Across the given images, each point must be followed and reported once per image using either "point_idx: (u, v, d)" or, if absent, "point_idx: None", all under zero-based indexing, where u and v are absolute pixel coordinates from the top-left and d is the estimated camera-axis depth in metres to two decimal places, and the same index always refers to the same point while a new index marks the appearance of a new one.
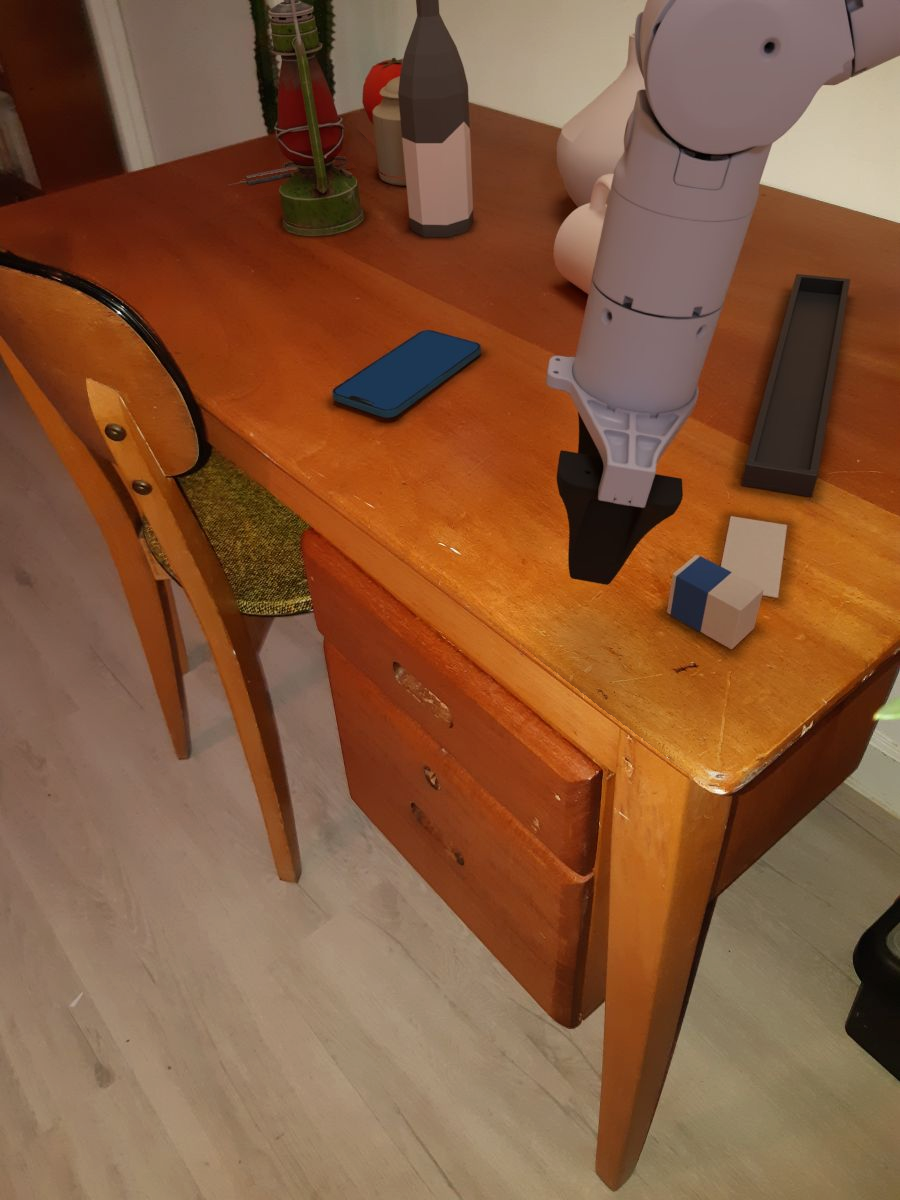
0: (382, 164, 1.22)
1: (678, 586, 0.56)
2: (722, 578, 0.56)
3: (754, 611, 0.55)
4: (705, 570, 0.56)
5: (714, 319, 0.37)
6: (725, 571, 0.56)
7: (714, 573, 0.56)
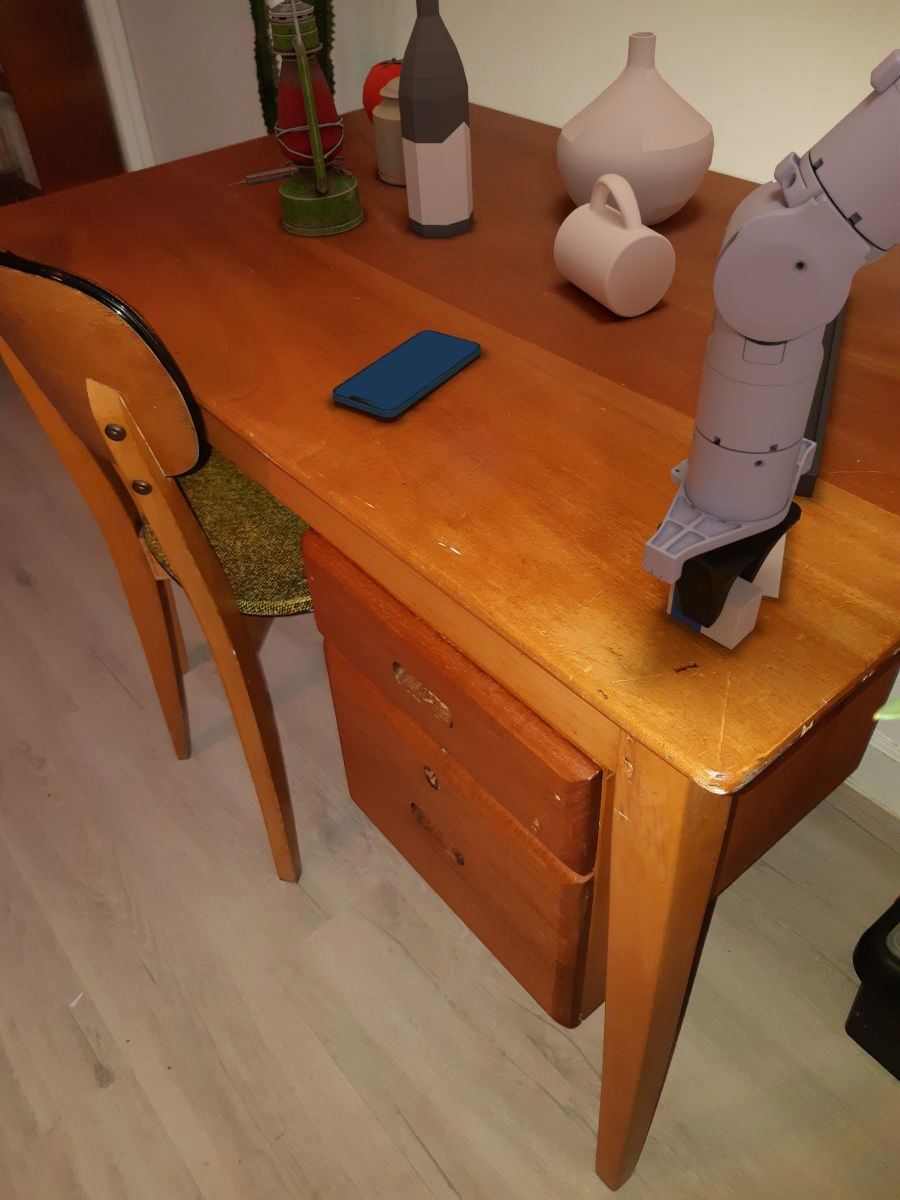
0: (382, 164, 1.22)
1: None
2: None
3: (754, 611, 0.55)
4: None
5: (774, 458, 0.46)
6: None
7: None
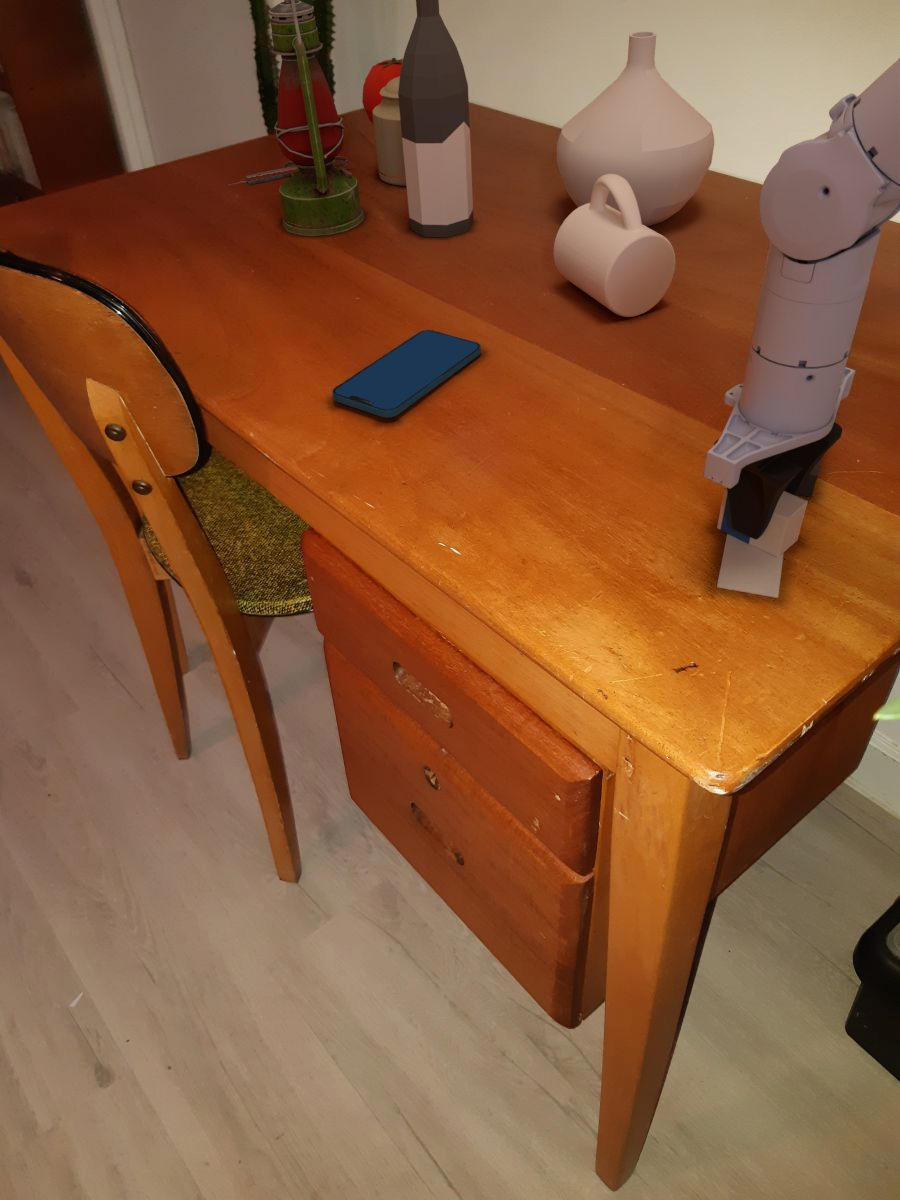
0: (382, 164, 1.22)
1: None
2: None
3: (798, 522, 0.61)
4: None
5: (823, 372, 0.52)
6: None
7: None
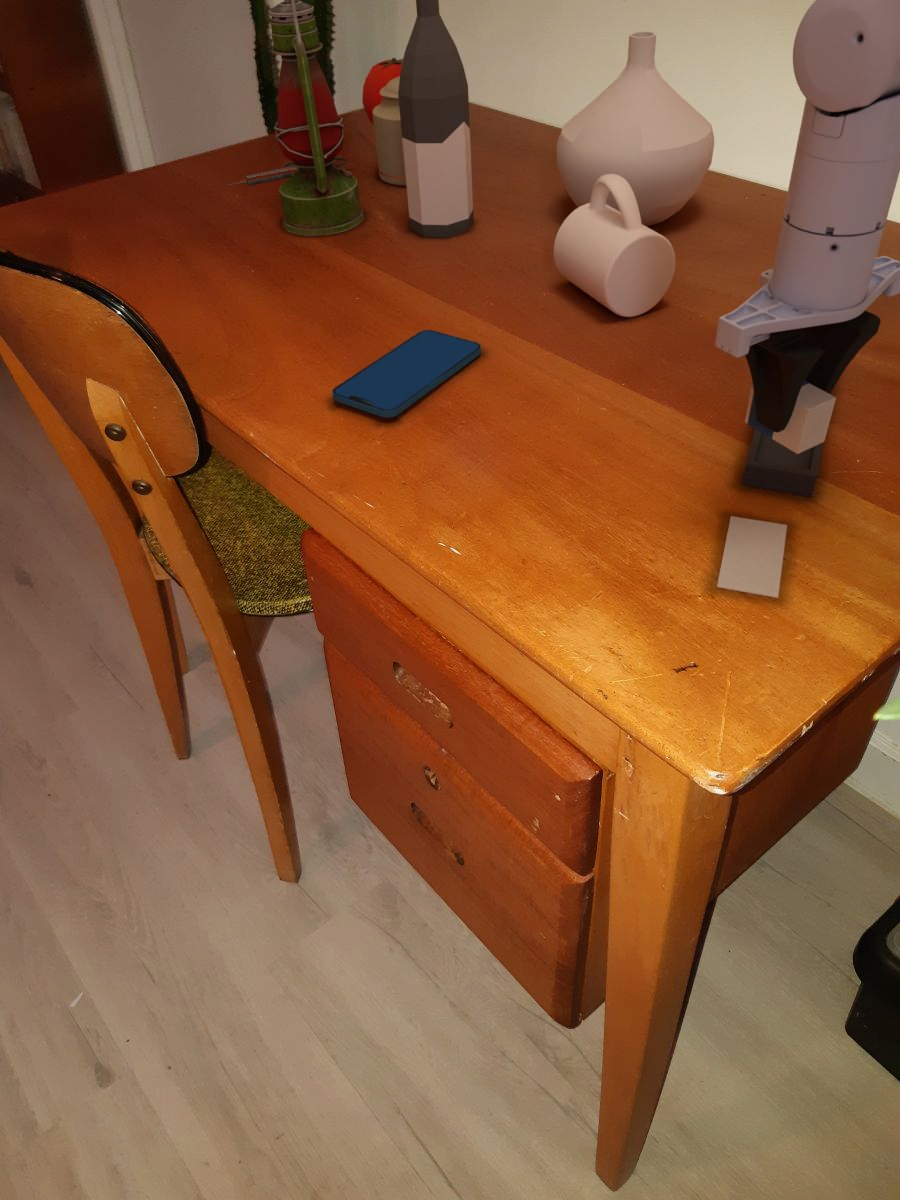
0: (382, 164, 1.22)
1: None
2: None
3: (824, 419, 0.59)
4: None
5: (849, 242, 0.50)
6: None
7: None
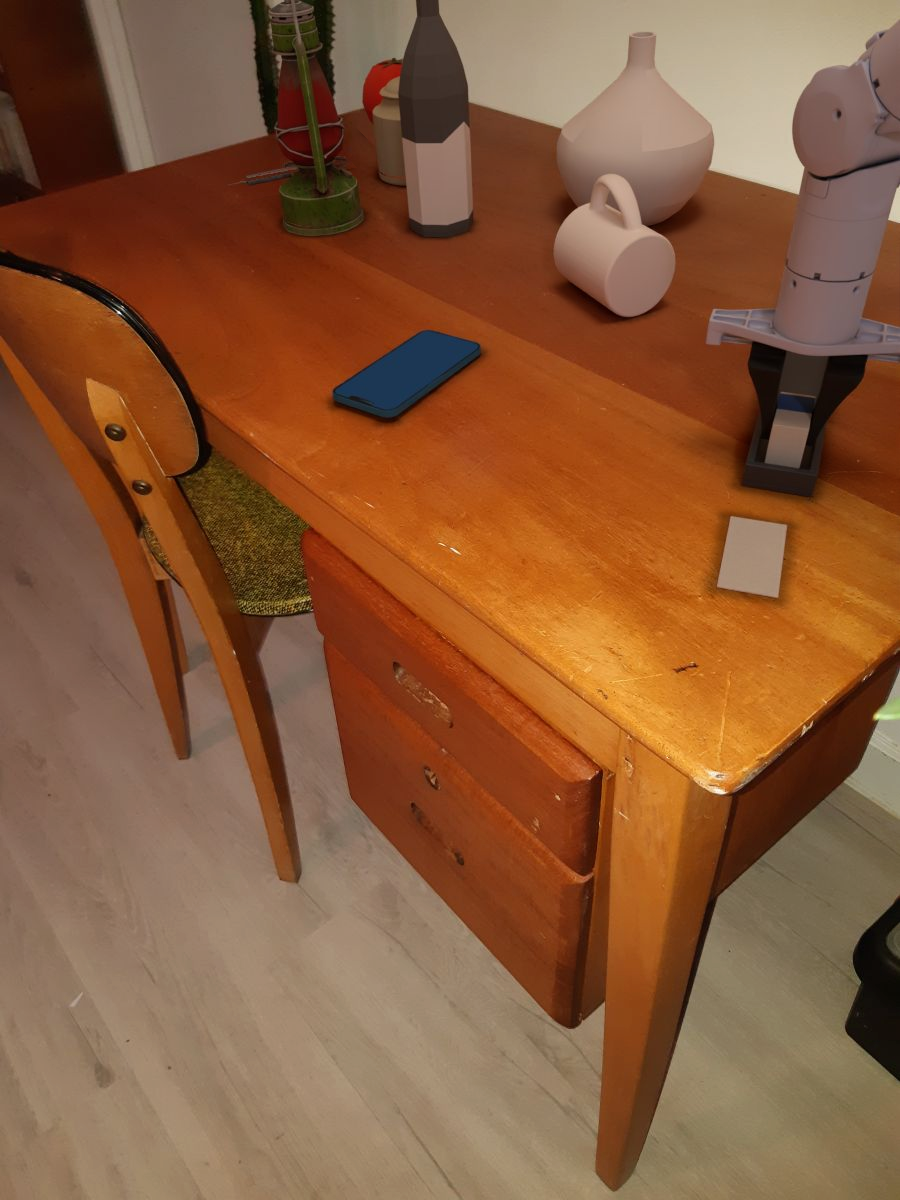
0: (382, 164, 1.22)
1: None
2: (799, 410, 0.67)
3: (796, 445, 0.66)
4: (800, 402, 0.68)
5: (802, 282, 0.59)
6: (809, 410, 0.67)
7: (801, 406, 0.68)
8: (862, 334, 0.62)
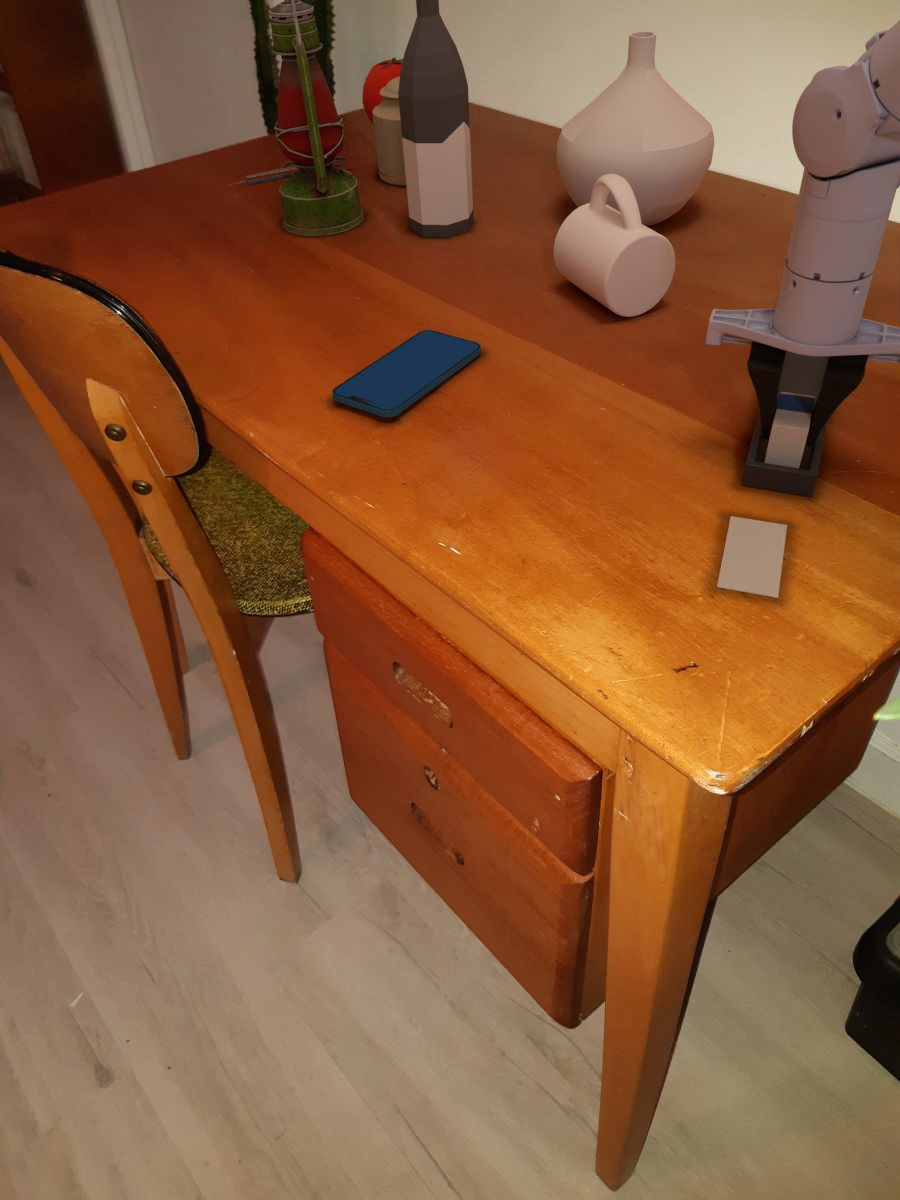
0: (382, 164, 1.22)
1: None
2: (799, 410, 0.67)
3: (796, 445, 0.67)
4: (800, 402, 0.68)
5: (802, 283, 0.59)
6: (809, 410, 0.67)
7: (801, 406, 0.68)
8: (862, 334, 0.62)
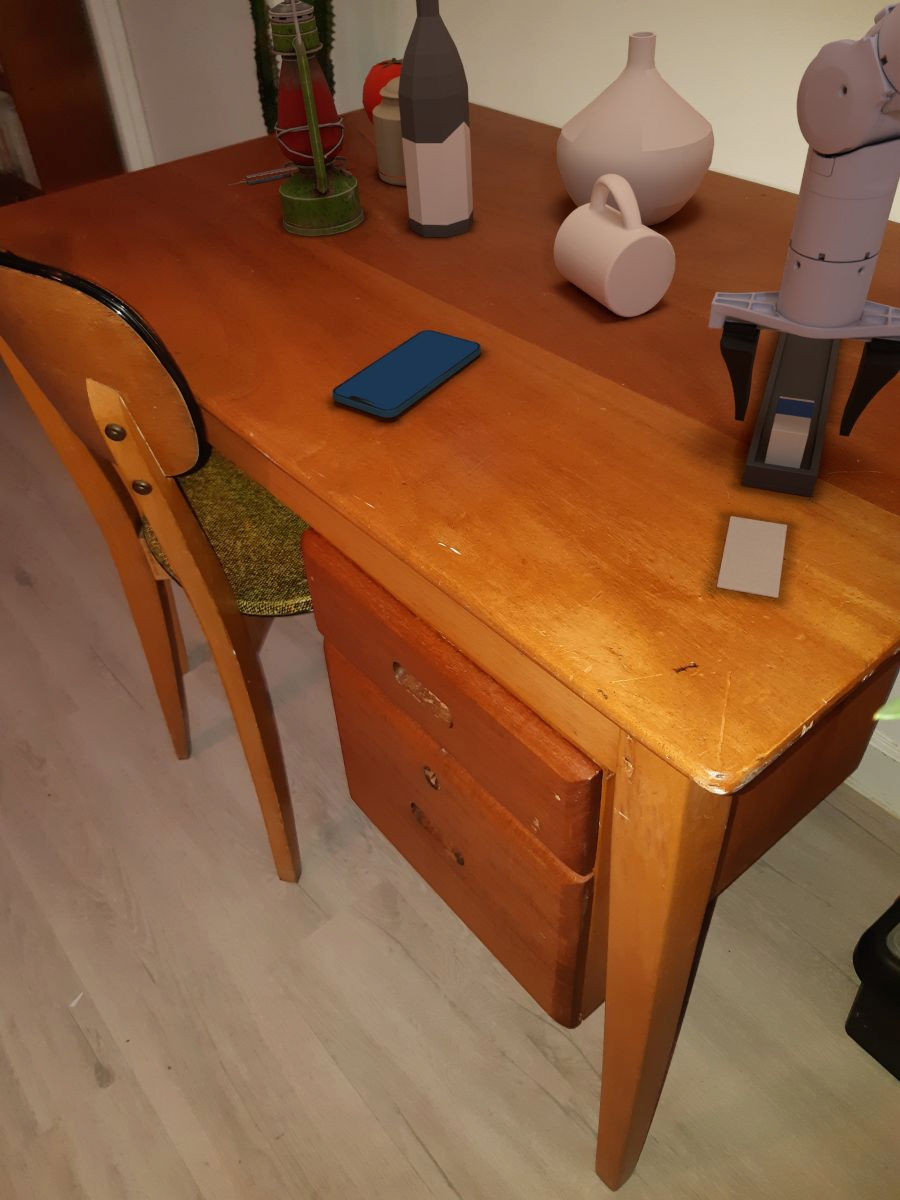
0: (382, 164, 1.22)
1: None
2: (799, 415, 0.67)
3: (795, 450, 0.67)
4: (799, 407, 0.68)
5: (806, 263, 0.58)
6: (808, 415, 0.67)
7: (800, 411, 0.68)
8: (867, 316, 0.61)
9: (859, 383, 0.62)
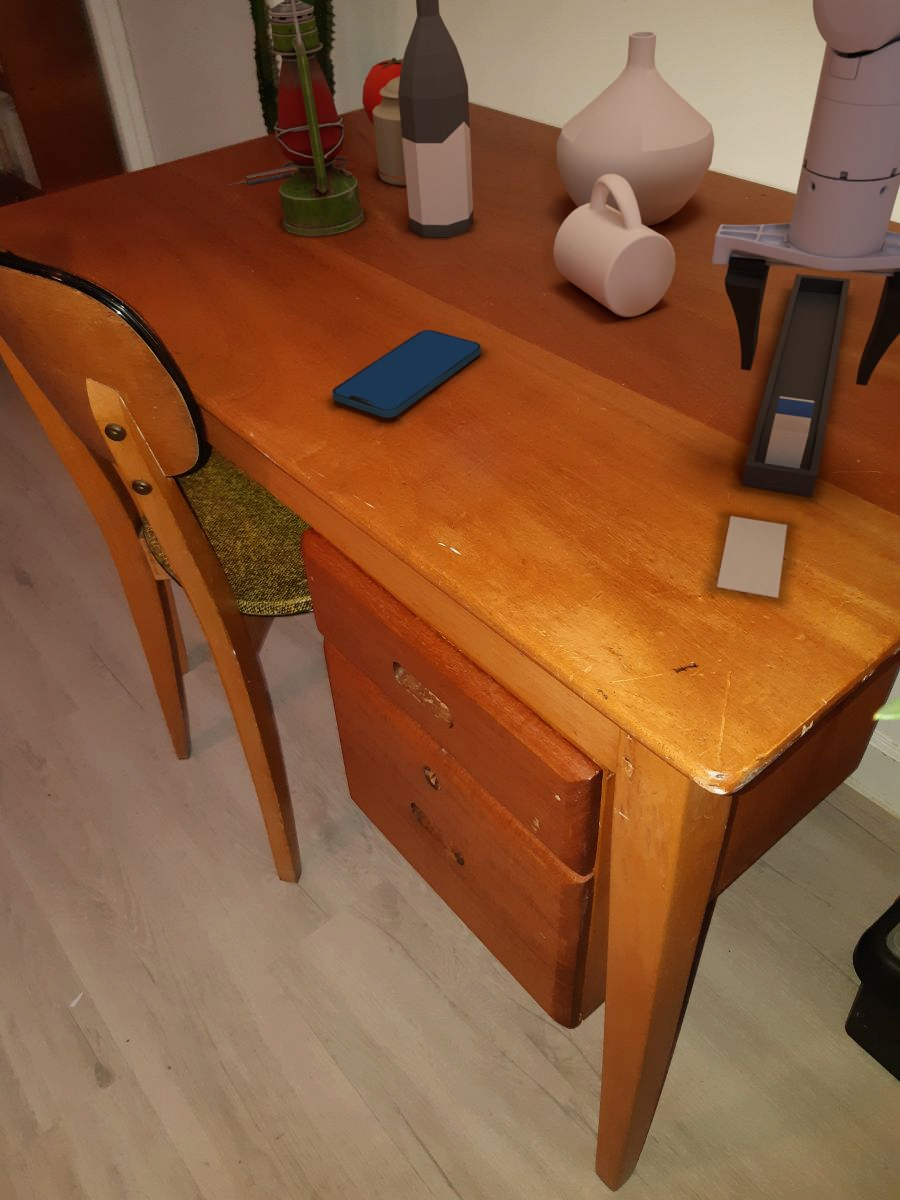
0: (382, 164, 1.22)
1: None
2: (799, 415, 0.67)
3: (795, 450, 0.67)
4: (799, 407, 0.68)
5: (822, 183, 0.52)
6: (808, 415, 0.67)
7: (800, 411, 0.68)
8: (889, 247, 0.55)
9: (879, 322, 0.56)
